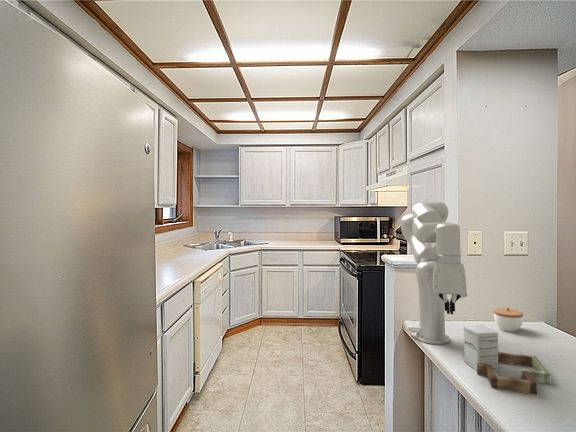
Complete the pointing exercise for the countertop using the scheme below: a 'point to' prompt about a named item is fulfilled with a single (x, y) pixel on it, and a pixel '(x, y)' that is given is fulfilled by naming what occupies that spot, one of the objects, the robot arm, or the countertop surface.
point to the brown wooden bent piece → (512, 382)
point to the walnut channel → (538, 374)
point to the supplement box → (480, 346)
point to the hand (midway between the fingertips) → (449, 313)
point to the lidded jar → (508, 319)
